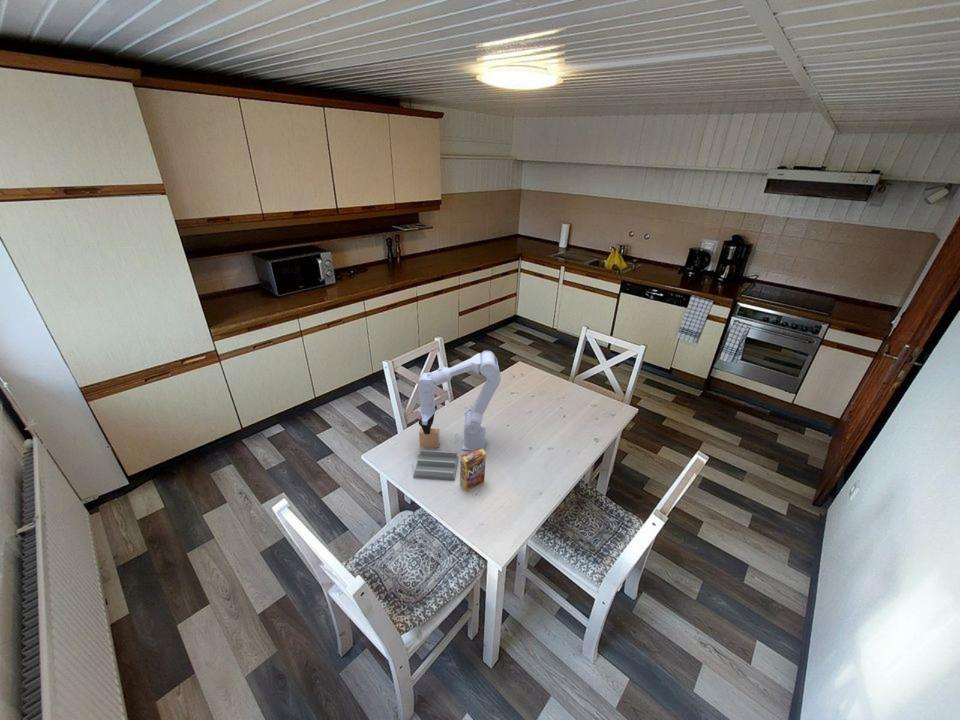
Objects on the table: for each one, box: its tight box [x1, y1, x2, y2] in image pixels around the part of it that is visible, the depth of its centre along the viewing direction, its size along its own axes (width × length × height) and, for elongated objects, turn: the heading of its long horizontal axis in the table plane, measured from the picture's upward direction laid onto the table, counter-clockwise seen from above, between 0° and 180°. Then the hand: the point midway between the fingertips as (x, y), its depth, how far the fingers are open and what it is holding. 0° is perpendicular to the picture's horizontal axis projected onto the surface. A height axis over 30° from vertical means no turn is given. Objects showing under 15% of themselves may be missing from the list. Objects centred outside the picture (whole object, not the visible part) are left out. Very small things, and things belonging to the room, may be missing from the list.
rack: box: [412, 449, 459, 481], centre depth 154 cm, size 16×12×4 cm
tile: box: [418, 427, 441, 449], centre depth 164 cm, size 8×3×8 cm, turn 86°
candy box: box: [459, 447, 487, 492], centre depth 144 cm, size 9×4×15 cm, turn 123°
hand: (428, 427), depth 162 cm, fingers open, 7 cm apart
